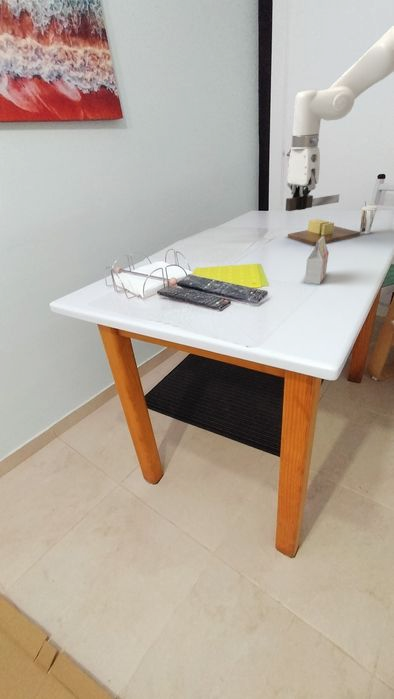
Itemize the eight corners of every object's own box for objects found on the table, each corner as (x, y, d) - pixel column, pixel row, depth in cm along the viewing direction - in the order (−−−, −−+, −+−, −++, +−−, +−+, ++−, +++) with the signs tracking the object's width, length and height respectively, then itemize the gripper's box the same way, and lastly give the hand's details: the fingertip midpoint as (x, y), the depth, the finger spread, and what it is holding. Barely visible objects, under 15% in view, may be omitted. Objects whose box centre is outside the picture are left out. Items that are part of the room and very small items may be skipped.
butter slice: (329, 232, 118) (331, 222, 117) (332, 233, 117) (334, 223, 115) (320, 234, 117) (322, 224, 115) (323, 235, 116) (325, 224, 114)
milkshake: (365, 230, 122) (371, 200, 117) (374, 233, 118) (380, 203, 112) (353, 231, 122) (359, 202, 116) (362, 235, 117) (368, 204, 112)
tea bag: (304, 282, 85) (309, 242, 80) (311, 273, 90) (315, 235, 85) (319, 284, 83) (325, 243, 78) (325, 275, 88) (331, 236, 83)
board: (331, 228, 128) (331, 225, 127) (359, 235, 117) (360, 232, 116) (287, 237, 122) (287, 233, 121) (313, 245, 111) (314, 242, 110)
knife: (289, 211, 107) (290, 199, 105) (285, 210, 109) (286, 198, 107) (340, 202, 114) (342, 191, 112) (335, 201, 115) (337, 190, 113)
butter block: (316, 229, 124) (317, 219, 122) (327, 232, 119) (329, 221, 117) (307, 230, 123) (308, 220, 121) (318, 234, 118) (320, 223, 116)
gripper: (334, 141, 94) (325, 210, 104) (297, 142, 107) (292, 204, 117) (312, 143, 92) (305, 214, 102) (278, 144, 105) (274, 207, 114)
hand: (298, 208), depth 109 cm, fingers closed on knife, 2 cm apart
